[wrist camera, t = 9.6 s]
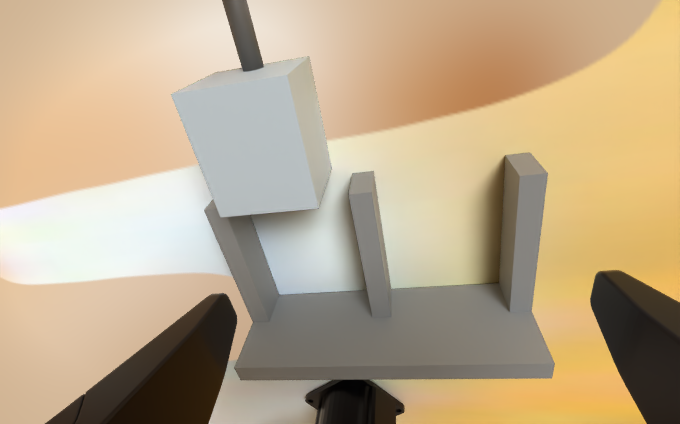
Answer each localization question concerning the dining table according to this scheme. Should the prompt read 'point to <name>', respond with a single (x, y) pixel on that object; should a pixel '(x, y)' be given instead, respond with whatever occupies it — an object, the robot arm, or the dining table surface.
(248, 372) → the lane rack
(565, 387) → the dining table surface
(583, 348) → the dining table surface
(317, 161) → the orange knob joystick
